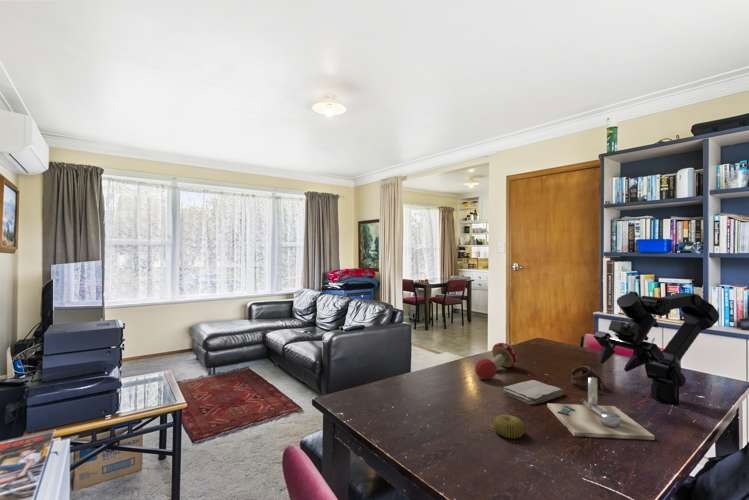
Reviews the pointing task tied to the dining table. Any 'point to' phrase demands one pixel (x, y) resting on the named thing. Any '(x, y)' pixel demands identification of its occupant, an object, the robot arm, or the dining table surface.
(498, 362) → the decorative mushroom
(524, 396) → the washcloth
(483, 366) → the tomato
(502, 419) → the green sea urchin shell
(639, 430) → the napkin
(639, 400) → the dining table surface
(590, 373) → the pottery mug
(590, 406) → the crank handle
